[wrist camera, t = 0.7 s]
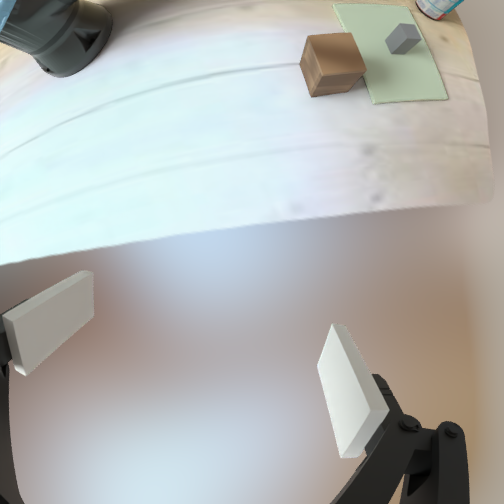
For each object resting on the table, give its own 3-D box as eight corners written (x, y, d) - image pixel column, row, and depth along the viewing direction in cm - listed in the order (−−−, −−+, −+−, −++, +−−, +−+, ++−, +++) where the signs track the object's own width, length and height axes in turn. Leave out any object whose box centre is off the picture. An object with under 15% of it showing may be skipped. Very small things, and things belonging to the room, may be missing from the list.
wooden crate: (299, 64, 33) (307, 35, 24) (335, 59, 32) (351, 32, 24) (310, 97, 34) (323, 74, 25) (347, 92, 33) (367, 70, 25)
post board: (332, 6, 30) (341, -18, 23) (405, 9, 29) (421, -10, 22) (372, 104, 33) (392, 90, 27) (444, 99, 32) (469, 89, 25)
